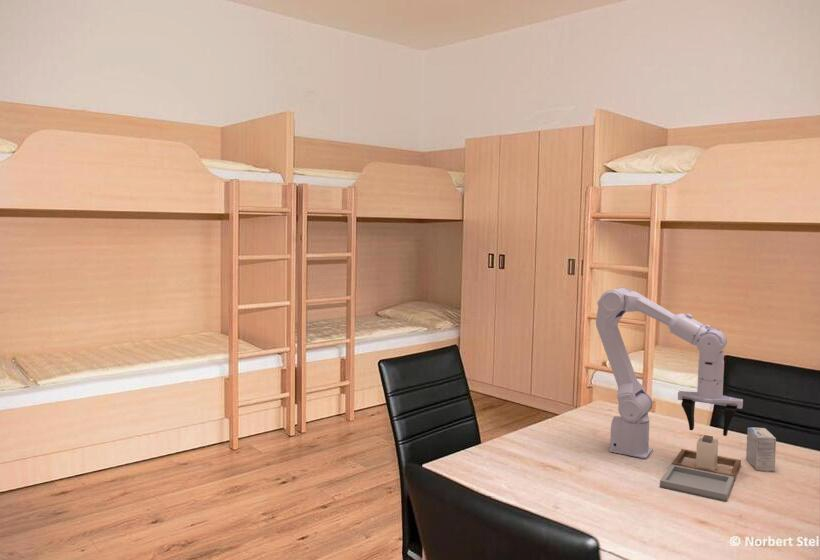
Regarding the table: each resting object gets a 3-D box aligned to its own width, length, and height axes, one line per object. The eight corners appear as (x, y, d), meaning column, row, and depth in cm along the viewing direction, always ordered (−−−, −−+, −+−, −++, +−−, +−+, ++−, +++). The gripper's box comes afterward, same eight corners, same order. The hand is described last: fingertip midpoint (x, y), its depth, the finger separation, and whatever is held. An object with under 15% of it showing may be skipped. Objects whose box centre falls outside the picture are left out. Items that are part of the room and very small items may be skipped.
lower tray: (659, 487, 148) (660, 480, 148) (670, 470, 158) (671, 464, 158) (726, 501, 140) (726, 494, 140) (733, 483, 150) (734, 476, 150)
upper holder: (671, 469, 159) (672, 463, 159) (681, 454, 169) (681, 448, 169) (734, 481, 151) (734, 475, 151) (740, 465, 161) (741, 459, 161)
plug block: (695, 469, 158) (697, 439, 158) (700, 462, 163) (701, 432, 163) (713, 473, 156) (714, 442, 156) (717, 465, 161) (718, 435, 161)
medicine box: (775, 472, 157) (777, 438, 156) (755, 470, 158) (757, 436, 157) (764, 460, 165) (766, 427, 164) (745, 459, 166) (747, 426, 165)
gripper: (676, 377, 158) (674, 431, 160) (741, 385, 150) (738, 441, 152) (681, 372, 164) (679, 423, 166) (744, 379, 156) (742, 433, 158)
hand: (708, 431), depth 159 cm, fingers open, 7 cm apart
